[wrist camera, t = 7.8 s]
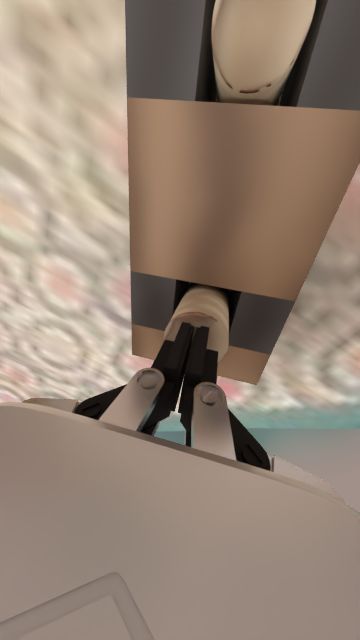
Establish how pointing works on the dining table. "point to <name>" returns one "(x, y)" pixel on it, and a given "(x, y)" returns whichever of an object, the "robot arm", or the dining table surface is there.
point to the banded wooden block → (233, 173)
